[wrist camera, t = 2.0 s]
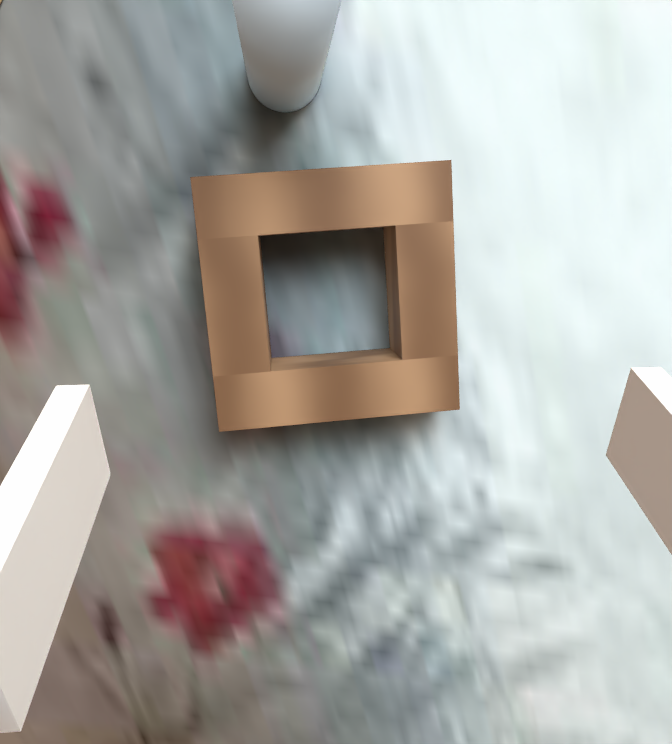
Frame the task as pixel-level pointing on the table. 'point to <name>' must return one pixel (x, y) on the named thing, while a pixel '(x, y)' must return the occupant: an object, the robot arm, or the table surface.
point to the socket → (403, 281)
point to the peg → (285, 48)
